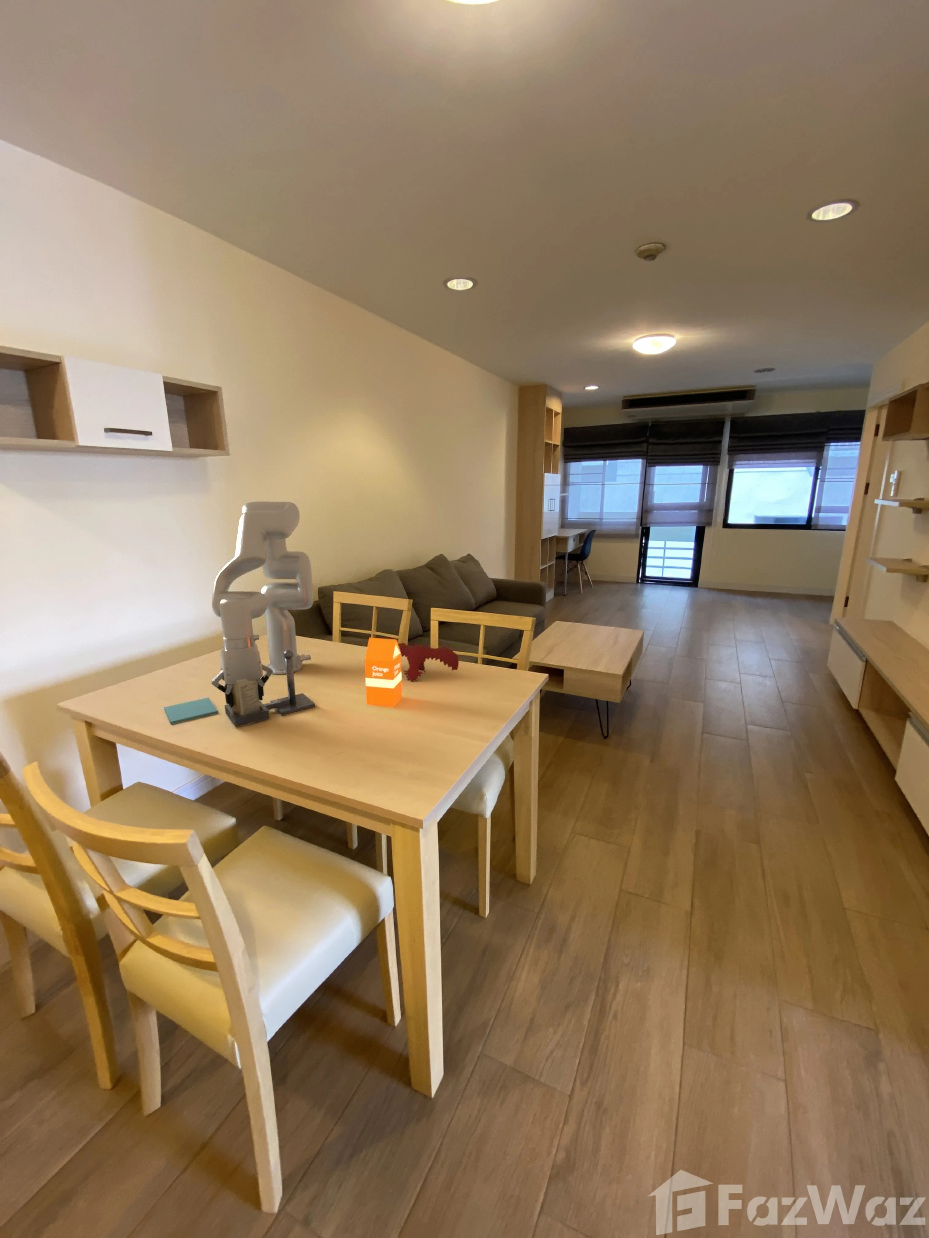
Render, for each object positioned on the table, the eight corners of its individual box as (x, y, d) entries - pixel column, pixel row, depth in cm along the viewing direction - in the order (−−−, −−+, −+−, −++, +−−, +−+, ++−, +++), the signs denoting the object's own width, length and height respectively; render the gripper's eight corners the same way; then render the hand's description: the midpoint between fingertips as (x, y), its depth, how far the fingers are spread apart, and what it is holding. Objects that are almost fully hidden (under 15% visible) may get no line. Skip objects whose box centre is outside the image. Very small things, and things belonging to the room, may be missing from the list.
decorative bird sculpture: (455, 693, 171) (463, 653, 178) (448, 683, 164) (458, 642, 170) (380, 684, 179) (391, 646, 186) (370, 673, 171) (382, 635, 178)
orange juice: (394, 707, 150) (392, 643, 145) (366, 704, 152) (363, 641, 147) (402, 696, 157) (400, 635, 152) (375, 694, 159) (373, 634, 154)
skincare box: (251, 711, 146) (248, 671, 143) (261, 714, 144) (257, 674, 141) (231, 719, 141) (227, 678, 138) (241, 722, 138) (237, 681, 135)
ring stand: (302, 696, 157) (298, 642, 153) (315, 707, 149) (311, 651, 144) (225, 714, 144) (218, 656, 139) (235, 728, 135) (228, 667, 131)
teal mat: (208, 699, 154) (208, 697, 154) (218, 713, 145) (217, 710, 145) (164, 709, 147) (163, 707, 147) (170, 724, 138) (170, 721, 137)
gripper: (267, 633, 145) (272, 691, 149) (201, 644, 134) (209, 705, 139) (275, 639, 139) (281, 699, 143) (207, 651, 129) (215, 714, 133)
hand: (245, 701), depth 141 cm, fingers closed on skincare box, 7 cm apart
